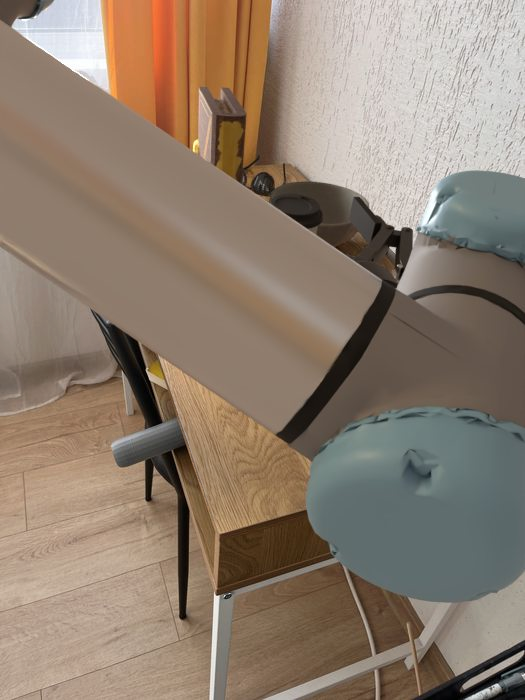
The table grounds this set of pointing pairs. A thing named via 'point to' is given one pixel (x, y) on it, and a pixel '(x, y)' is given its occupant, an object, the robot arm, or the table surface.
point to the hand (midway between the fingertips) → (297, 208)
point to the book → (221, 132)
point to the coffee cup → (300, 209)
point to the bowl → (327, 208)
